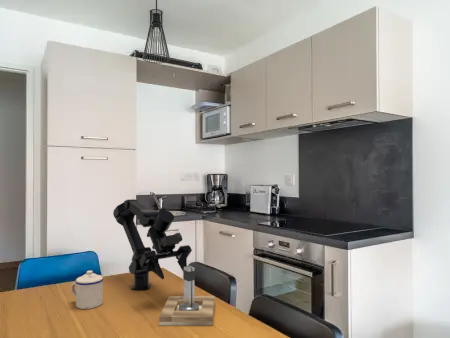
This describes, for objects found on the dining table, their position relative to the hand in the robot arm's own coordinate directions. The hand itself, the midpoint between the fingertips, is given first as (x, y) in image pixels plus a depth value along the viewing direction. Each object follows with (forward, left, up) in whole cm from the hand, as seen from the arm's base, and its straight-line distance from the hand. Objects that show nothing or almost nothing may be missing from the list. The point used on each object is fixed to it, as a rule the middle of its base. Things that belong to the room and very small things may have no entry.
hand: (175, 276), depth 118 cm
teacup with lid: (-2, -32, -10) cm, 33 cm away
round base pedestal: (+6, +5, -9) cm, 13 cm away
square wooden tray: (+6, +5, -10) cm, 13 cm away
